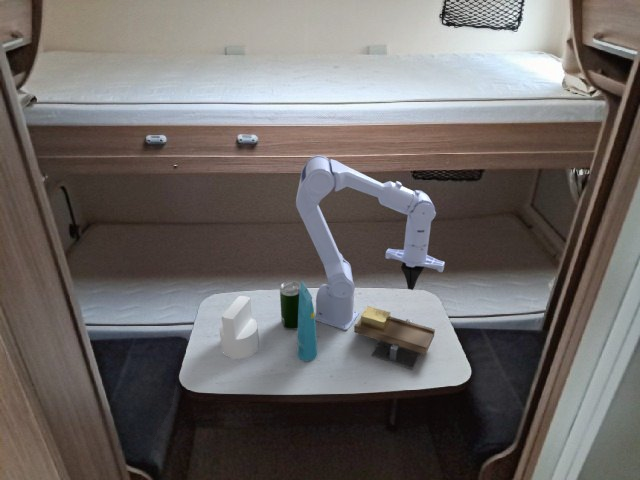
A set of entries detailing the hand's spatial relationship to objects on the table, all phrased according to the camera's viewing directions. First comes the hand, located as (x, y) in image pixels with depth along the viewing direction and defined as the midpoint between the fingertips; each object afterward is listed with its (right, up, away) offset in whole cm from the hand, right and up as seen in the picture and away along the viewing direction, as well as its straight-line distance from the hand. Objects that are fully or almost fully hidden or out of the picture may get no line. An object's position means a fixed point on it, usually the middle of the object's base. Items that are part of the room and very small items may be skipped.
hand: (411, 287), depth 121 cm
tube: (-27, -15, -8) cm, 32 cm away
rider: (-10, -9, -5) cm, 14 cm away
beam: (-5, -11, -6) cm, 14 cm away
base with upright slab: (-43, -14, -5) cm, 46 cm away
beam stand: (-4, -14, -6) cm, 15 cm away
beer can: (-31, -10, +2) cm, 33 cm away
